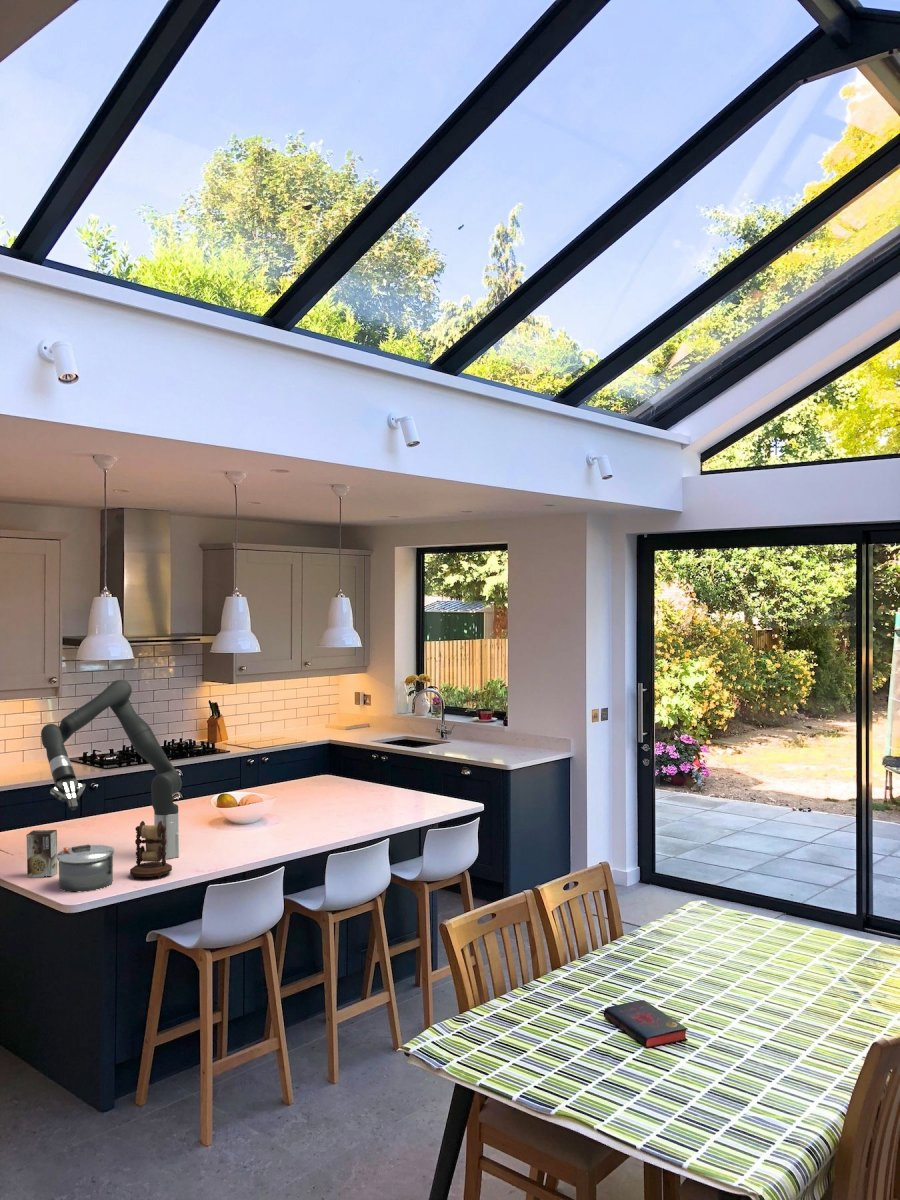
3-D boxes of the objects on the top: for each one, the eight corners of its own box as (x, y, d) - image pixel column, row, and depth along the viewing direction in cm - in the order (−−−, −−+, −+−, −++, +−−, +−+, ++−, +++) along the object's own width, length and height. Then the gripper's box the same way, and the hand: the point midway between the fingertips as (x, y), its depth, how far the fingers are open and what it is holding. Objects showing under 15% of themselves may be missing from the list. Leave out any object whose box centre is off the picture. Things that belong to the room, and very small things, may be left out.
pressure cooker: (50, 883, 344) (50, 855, 345) (100, 873, 356) (100, 847, 356) (69, 895, 330) (69, 866, 330) (120, 885, 341) (120, 857, 341)
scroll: (177, 869, 361) (176, 816, 361) (164, 880, 346) (163, 825, 346) (138, 869, 362) (138, 816, 362) (123, 880, 347) (123, 825, 347)
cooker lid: (49, 855, 344) (49, 847, 344) (102, 846, 356) (102, 838, 356) (68, 866, 329) (68, 857, 329) (122, 856, 341) (122, 848, 341)
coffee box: (58, 872, 359) (57, 829, 359) (51, 877, 352) (51, 833, 352) (33, 873, 358) (33, 829, 358) (26, 877, 352) (26, 833, 352)
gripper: (78, 774, 364) (90, 811, 355) (41, 779, 356) (53, 817, 346) (82, 762, 360) (94, 799, 351) (45, 767, 352) (57, 805, 342)
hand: (74, 808), depth 349 cm, fingers closed
